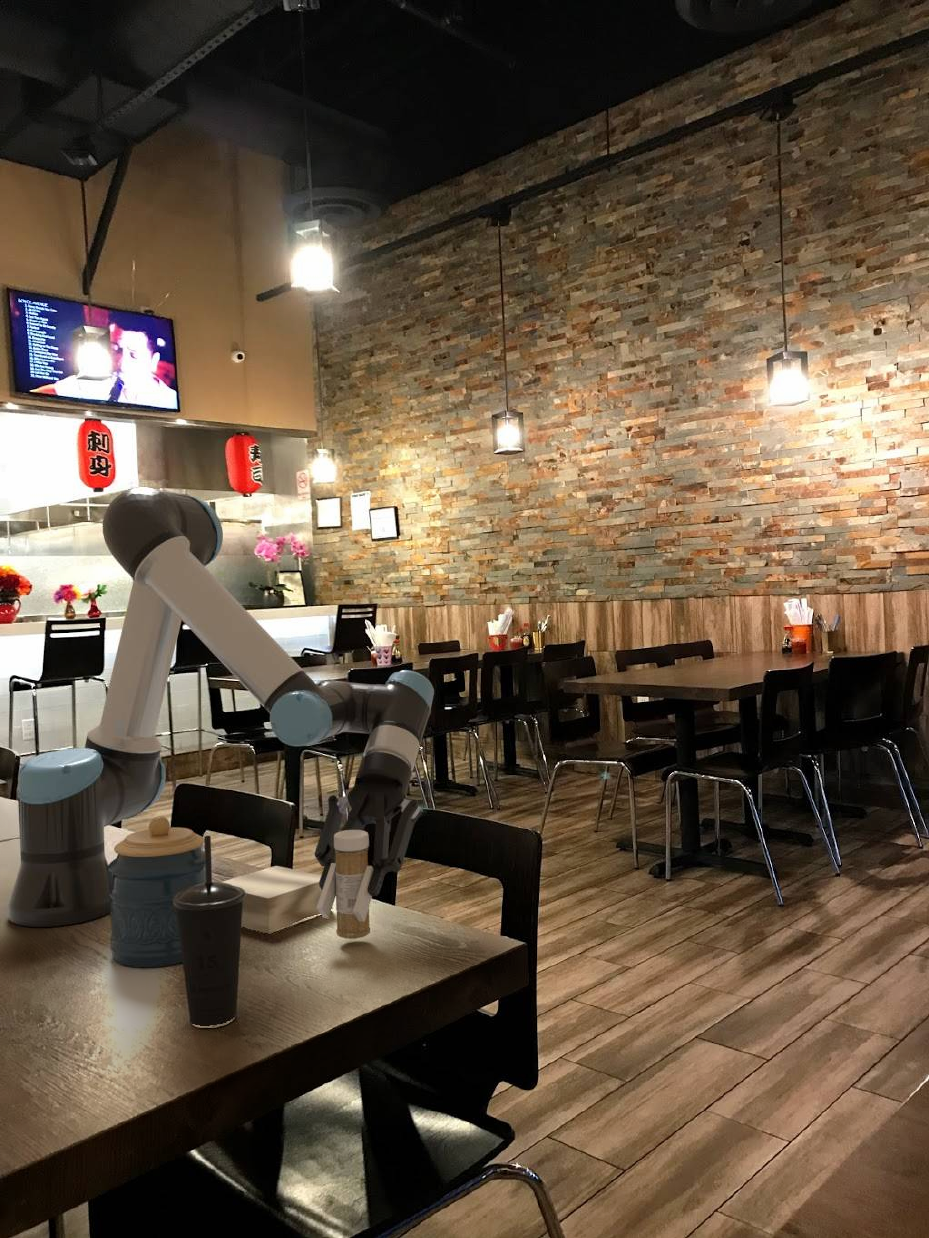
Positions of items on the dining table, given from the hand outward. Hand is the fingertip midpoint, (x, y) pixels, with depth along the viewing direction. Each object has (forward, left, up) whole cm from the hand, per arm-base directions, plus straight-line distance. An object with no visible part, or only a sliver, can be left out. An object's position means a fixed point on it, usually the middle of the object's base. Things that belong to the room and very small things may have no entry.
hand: (340, 914), depth 127 cm
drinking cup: (-22, -3, -5) cm, 23 cm away
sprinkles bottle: (+4, +1, -4) cm, 6 cm away
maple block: (+6, +19, -5) cm, 21 cm away
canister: (-13, +20, -5) cm, 24 cm away
